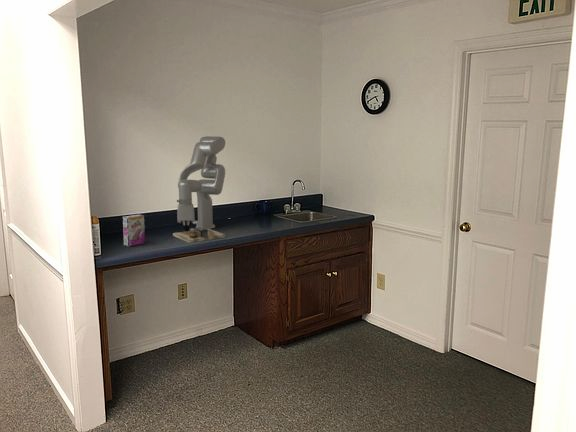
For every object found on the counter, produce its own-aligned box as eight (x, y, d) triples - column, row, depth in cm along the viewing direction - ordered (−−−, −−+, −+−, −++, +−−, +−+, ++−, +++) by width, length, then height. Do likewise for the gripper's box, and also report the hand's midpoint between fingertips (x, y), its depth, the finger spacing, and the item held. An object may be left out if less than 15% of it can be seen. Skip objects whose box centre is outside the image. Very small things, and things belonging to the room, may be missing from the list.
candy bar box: (128, 247, 272) (127, 217, 269) (123, 245, 275) (121, 216, 272) (146, 243, 280) (144, 215, 277) (140, 242, 283) (139, 214, 280)
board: (189, 242, 282) (189, 240, 282) (172, 235, 300) (172, 233, 300) (226, 237, 297) (226, 234, 296) (208, 230, 314) (208, 228, 314)
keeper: (202, 238, 287) (202, 230, 286) (195, 235, 294) (195, 227, 293) (207, 237, 289) (207, 229, 289) (201, 234, 296) (200, 227, 295)
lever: (197, 237, 287) (197, 229, 286) (189, 237, 286) (189, 229, 285) (196, 231, 304) (196, 223, 303) (189, 231, 303) (189, 223, 302)
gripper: (172, 202, 293) (173, 233, 297) (197, 202, 295) (198, 232, 298) (173, 201, 301) (174, 230, 304) (198, 200, 302) (199, 229, 306)
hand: (186, 231), depth 301 cm, fingers closed
